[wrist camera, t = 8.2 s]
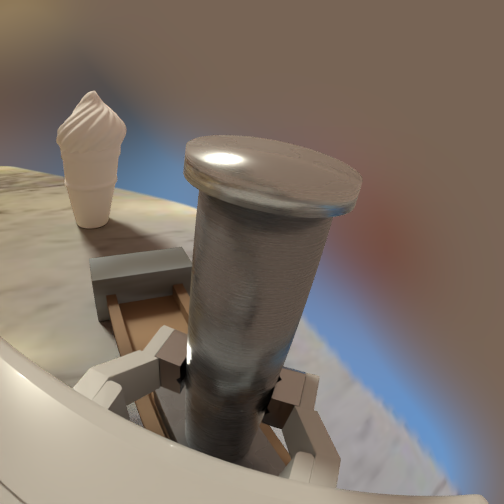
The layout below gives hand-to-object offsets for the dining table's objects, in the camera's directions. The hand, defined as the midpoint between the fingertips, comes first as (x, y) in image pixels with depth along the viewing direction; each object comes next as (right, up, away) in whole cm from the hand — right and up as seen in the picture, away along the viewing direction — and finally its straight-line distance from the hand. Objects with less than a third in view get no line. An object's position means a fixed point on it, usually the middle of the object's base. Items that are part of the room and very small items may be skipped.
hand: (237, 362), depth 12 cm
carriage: (-1, -6, +3) cm, 7 cm away
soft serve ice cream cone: (-19, +8, +24) cm, 32 cm away
